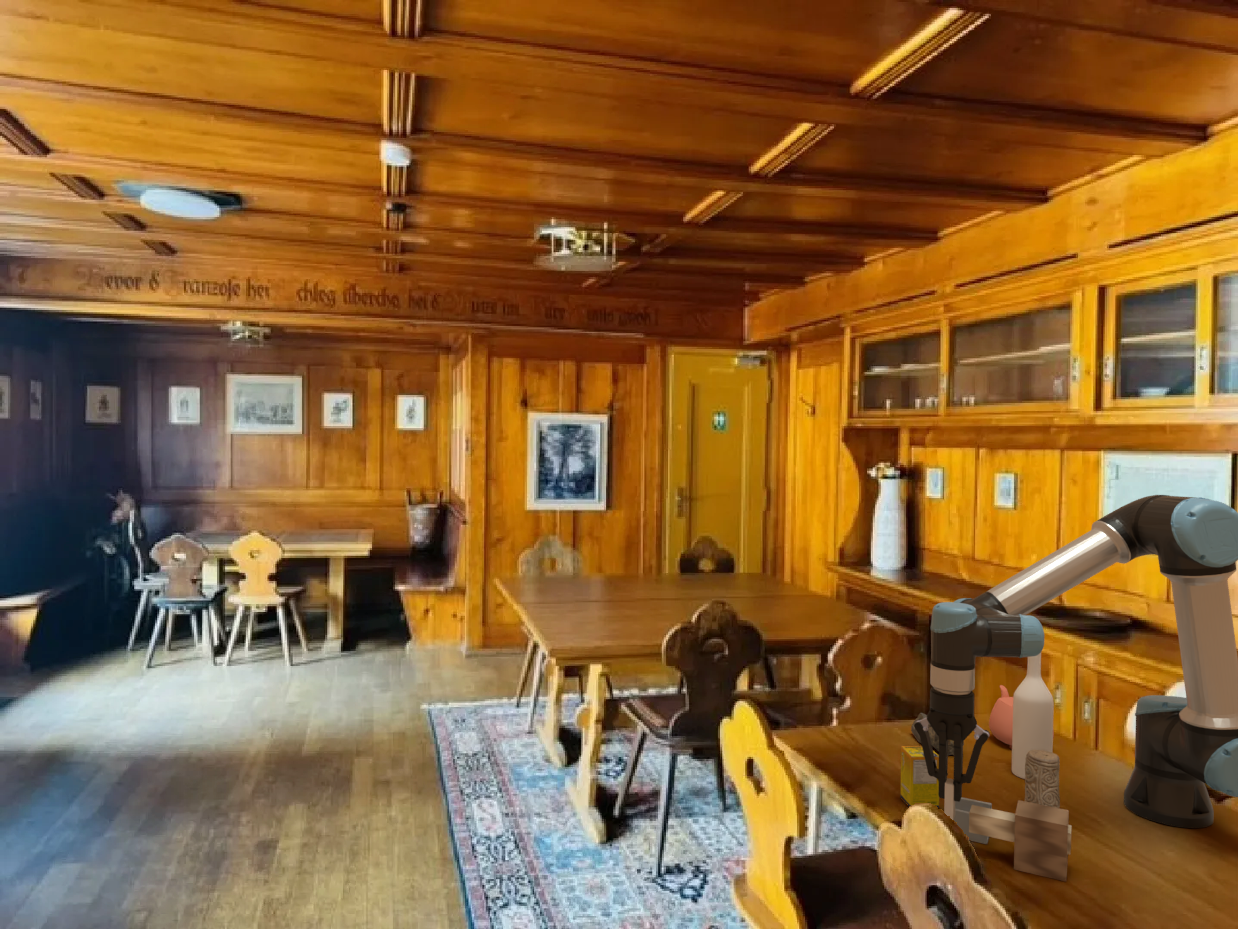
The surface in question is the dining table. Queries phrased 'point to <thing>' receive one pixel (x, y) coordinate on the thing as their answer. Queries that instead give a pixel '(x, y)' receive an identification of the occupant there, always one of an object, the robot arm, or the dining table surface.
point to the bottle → (1031, 717)
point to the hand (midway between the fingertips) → (949, 816)
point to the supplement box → (917, 777)
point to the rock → (932, 736)
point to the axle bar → (998, 824)
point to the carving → (1042, 778)
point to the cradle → (963, 817)
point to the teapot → (1003, 718)
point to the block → (1041, 840)
